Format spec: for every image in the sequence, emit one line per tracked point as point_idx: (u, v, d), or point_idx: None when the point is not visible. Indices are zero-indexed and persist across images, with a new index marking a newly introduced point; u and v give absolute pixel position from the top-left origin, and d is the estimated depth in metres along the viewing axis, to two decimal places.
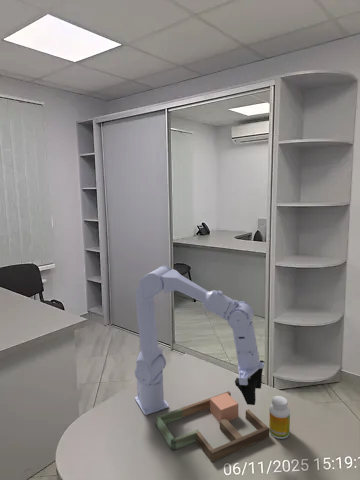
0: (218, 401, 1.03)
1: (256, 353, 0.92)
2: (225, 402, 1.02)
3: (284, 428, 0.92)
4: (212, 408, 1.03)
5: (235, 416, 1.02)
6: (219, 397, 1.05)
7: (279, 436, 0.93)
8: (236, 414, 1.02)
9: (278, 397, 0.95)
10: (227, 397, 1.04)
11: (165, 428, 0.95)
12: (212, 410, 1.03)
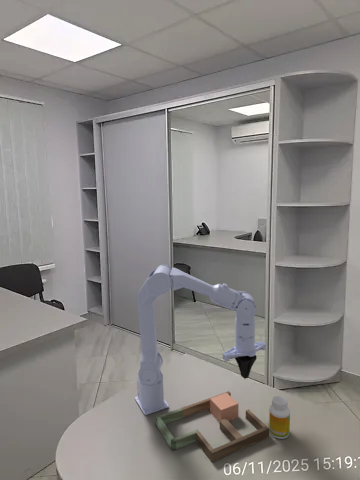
0: (218, 401, 1.03)
1: (248, 341, 1.00)
2: (225, 402, 1.02)
3: (284, 428, 0.92)
4: (212, 408, 1.03)
5: (235, 416, 1.02)
6: (219, 397, 1.05)
7: (279, 436, 0.93)
8: (236, 414, 1.02)
9: (278, 397, 0.95)
10: (227, 397, 1.04)
11: (165, 428, 0.95)
12: (212, 410, 1.03)
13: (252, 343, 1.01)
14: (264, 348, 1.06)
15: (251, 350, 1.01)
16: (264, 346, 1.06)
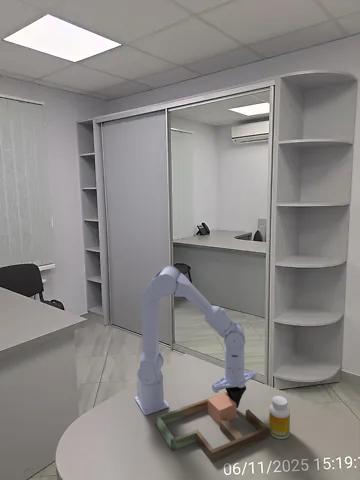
0: (216, 401, 1.02)
1: (238, 373, 1.00)
2: (223, 402, 1.02)
3: (284, 428, 0.92)
4: (210, 409, 1.03)
5: (233, 416, 1.01)
6: (217, 397, 1.04)
7: (279, 436, 0.93)
8: (234, 414, 1.02)
9: (278, 397, 0.95)
10: (225, 397, 1.04)
11: (165, 428, 0.95)
12: (210, 411, 1.03)
13: (242, 374, 1.01)
14: (254, 378, 1.06)
15: (241, 381, 1.01)
16: (254, 376, 1.06)
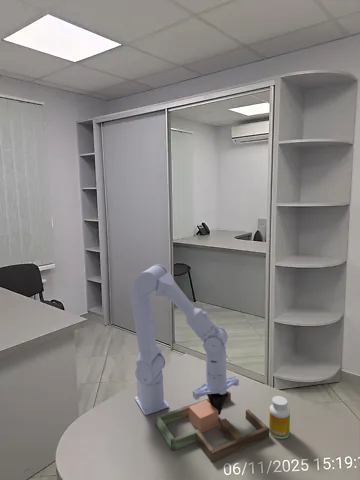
0: (197, 409, 0.99)
1: (219, 379, 0.97)
2: (205, 409, 0.99)
3: (284, 428, 0.92)
4: (191, 417, 1.00)
5: (215, 424, 0.98)
6: (198, 405, 1.01)
7: (279, 436, 0.93)
8: (216, 422, 0.99)
9: (278, 397, 0.95)
10: (206, 404, 1.01)
11: (165, 428, 0.95)
12: (192, 419, 1.00)
13: (223, 380, 0.98)
14: (237, 384, 1.03)
15: (222, 387, 0.98)
16: (237, 382, 1.03)
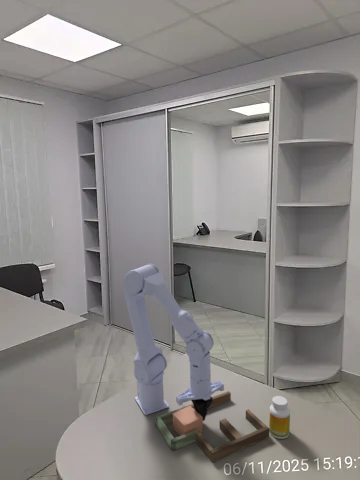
0: (181, 415, 0.97)
1: (203, 384, 0.95)
2: (189, 416, 0.96)
3: (284, 428, 0.92)
4: (175, 424, 0.97)
5: (199, 430, 0.96)
6: (182, 411, 0.98)
7: (279, 436, 0.93)
8: (200, 428, 0.96)
9: (278, 397, 0.95)
10: (191, 411, 0.99)
11: (165, 428, 0.95)
12: (176, 426, 0.97)
13: (207, 385, 0.96)
14: (222, 389, 1.01)
15: (206, 393, 0.96)
16: (222, 387, 1.01)
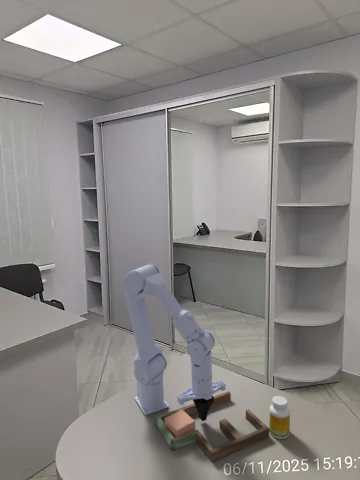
0: (174, 420, 0.95)
1: (204, 384, 0.95)
2: (181, 420, 0.95)
3: (284, 428, 0.92)
4: None
5: None
6: (175, 416, 0.97)
7: (279, 436, 0.93)
8: None
9: (278, 397, 0.95)
10: (183, 415, 0.97)
11: (165, 428, 0.95)
12: None
13: (208, 385, 0.96)
14: (223, 388, 1.01)
15: (207, 392, 0.96)
16: (223, 386, 1.01)
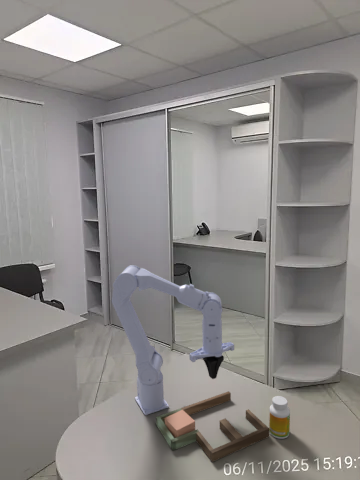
0: (174, 420, 0.95)
1: (215, 342, 1.01)
2: (181, 420, 0.95)
3: (284, 428, 0.92)
4: None
5: None
6: (175, 415, 0.97)
7: (279, 436, 0.93)
8: None
9: (278, 397, 0.95)
10: (183, 415, 0.97)
11: (165, 428, 0.95)
12: None
13: (219, 344, 1.01)
14: (232, 348, 1.06)
15: (218, 351, 1.01)
16: (232, 346, 1.06)
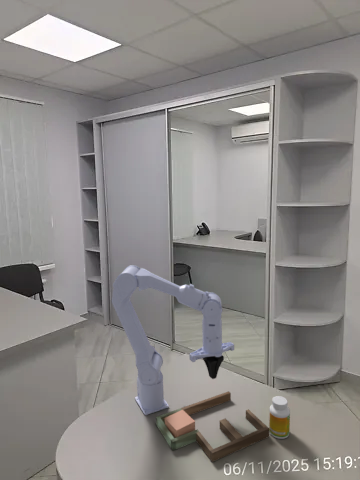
0: (174, 420, 0.95)
1: (215, 342, 1.01)
2: (181, 420, 0.95)
3: (284, 428, 0.92)
4: None
5: None
6: (175, 415, 0.97)
7: (279, 436, 0.93)
8: None
9: (278, 397, 0.95)
10: (183, 415, 0.97)
11: (165, 428, 0.95)
12: None
13: (219, 344, 1.01)
14: (232, 348, 1.06)
15: (218, 351, 1.01)
16: (232, 346, 1.06)
